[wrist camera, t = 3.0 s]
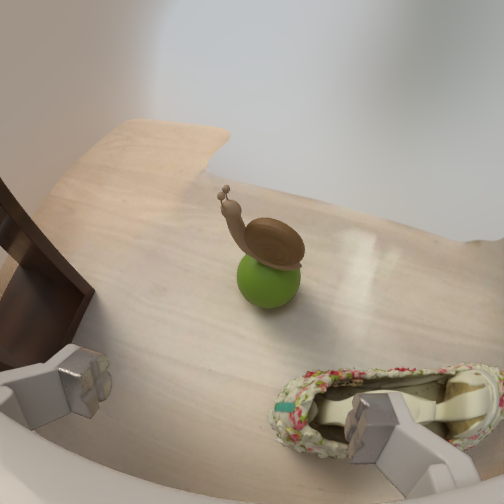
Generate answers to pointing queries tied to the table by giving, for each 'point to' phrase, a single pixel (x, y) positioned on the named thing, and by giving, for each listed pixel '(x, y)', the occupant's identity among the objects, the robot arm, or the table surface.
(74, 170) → the table surface
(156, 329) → the table surface
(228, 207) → the snail figurine
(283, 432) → the ballet flat
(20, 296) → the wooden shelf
